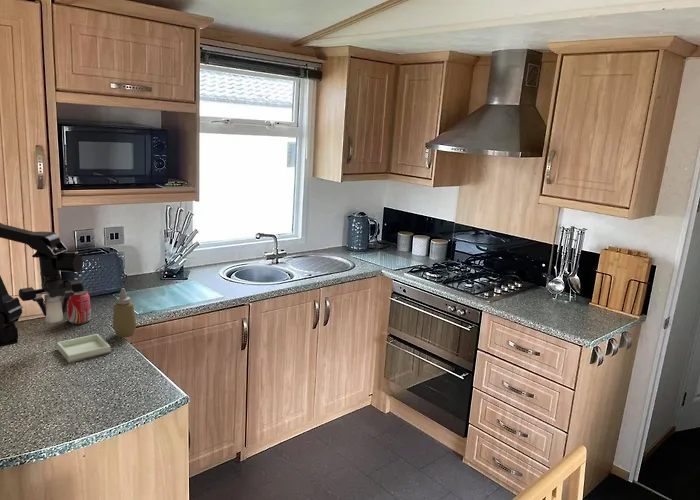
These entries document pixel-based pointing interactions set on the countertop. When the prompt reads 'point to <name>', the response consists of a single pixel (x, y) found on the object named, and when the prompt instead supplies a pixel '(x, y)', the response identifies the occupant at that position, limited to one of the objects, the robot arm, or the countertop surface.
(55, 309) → the ceramic shaker
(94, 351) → the sage tray
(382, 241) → the countertop surface
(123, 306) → the squeeze bottle
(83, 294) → the beverage can
